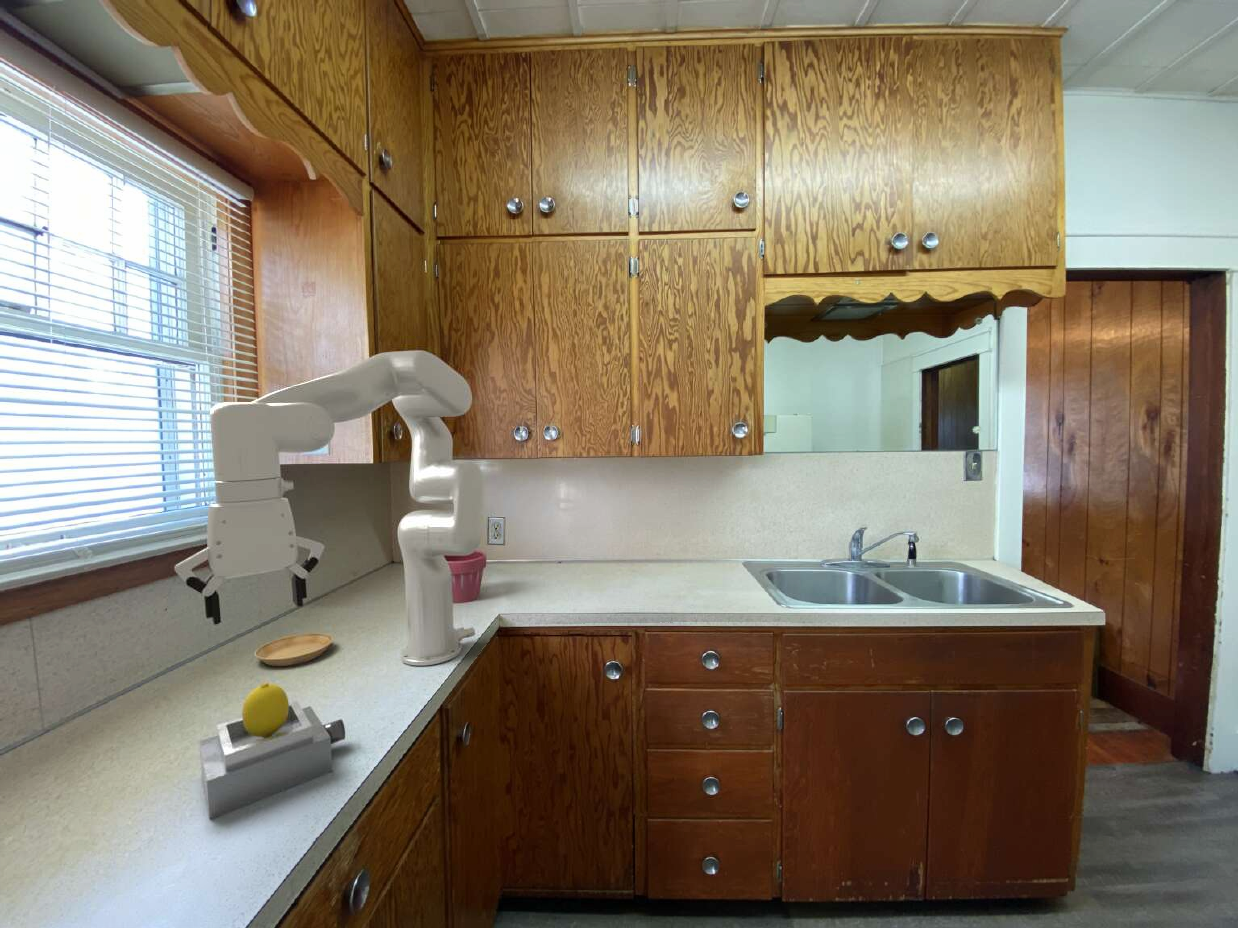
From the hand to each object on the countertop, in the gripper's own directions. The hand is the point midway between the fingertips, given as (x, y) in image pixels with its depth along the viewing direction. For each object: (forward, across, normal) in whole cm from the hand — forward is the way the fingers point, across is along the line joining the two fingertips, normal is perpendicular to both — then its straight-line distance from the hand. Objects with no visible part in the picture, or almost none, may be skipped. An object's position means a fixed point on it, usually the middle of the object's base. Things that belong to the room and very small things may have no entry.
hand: (259, 612), depth 75 cm
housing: (+23, -1, 0) cm, 23 cm away
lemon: (+18, 0, 0) cm, 18 cm away
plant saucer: (+24, -11, -45) cm, 52 cm away
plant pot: (+25, -56, -57) cm, 84 cm away
